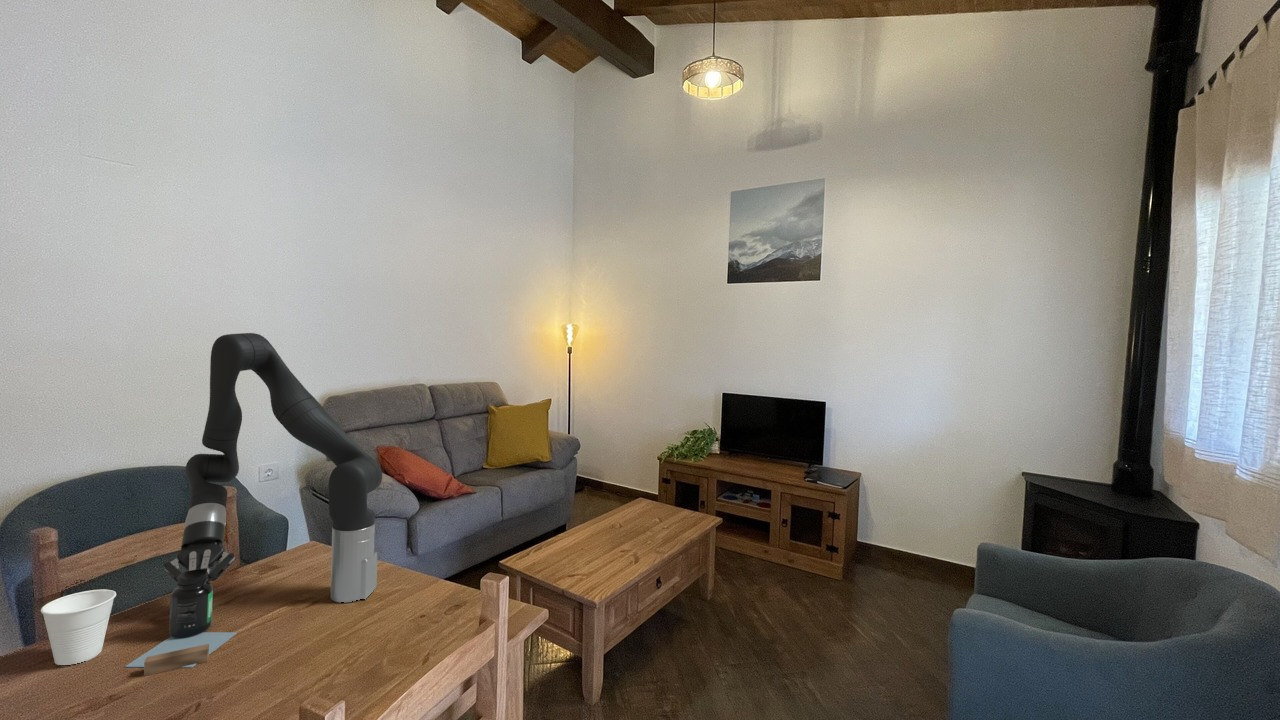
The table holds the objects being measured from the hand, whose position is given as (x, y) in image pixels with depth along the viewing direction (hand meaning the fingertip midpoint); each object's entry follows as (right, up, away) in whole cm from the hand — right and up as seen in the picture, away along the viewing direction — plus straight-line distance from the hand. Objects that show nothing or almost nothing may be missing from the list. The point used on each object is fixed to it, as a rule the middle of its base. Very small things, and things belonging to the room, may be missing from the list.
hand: (195, 600), depth 114 cm
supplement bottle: (+2, -5, -3) cm, 6 cm away
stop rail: (+9, -5, -15) cm, 18 cm away
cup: (-11, -5, -14) cm, 18 cm away
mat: (+6, -5, -10) cm, 12 cm away
